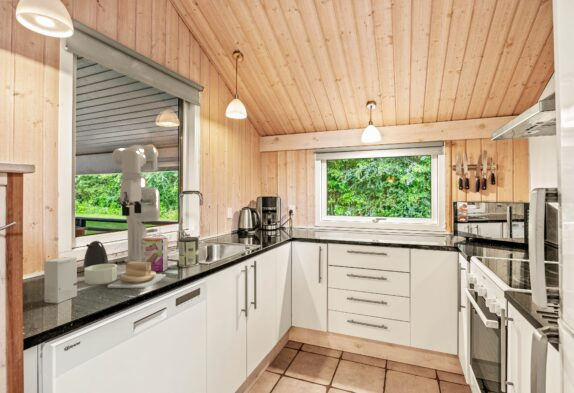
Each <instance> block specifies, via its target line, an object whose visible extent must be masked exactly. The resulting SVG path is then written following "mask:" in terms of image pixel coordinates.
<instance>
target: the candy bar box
mask: <svg viewBox="0 0 574 393" xmlns="http://www.w3.org/2000/svg"><path fill="white" fill-rule="evenodd" d="M142 262H151V271H154V272H156V273H157V272H159V273H163V272H166V271H167V270H168V269H169V268H168V267H169V265H168V237H165V236H164V237H163V236H147V237H144V238H142Z"/></svg>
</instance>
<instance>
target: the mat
mask: <svg viewBox="0 0 574 393" xmlns="http://www.w3.org/2000/svg"><path fill="white" fill-rule="evenodd" d="M165 277H167V274H164V273H160V274H158V273H156V277H154V278H152V279H150V280H148V281H145V282H139V283H129V282H124V281H121V280H120V279H117V281H116V280H115V281H113V282H111V283H110V284H108V285H107V288H112V289H143V290H144V289H147V288H148V287H150V286H152V285H154V284H155V283H157V282H159V281H160V280H162V279H163V278H165Z"/></svg>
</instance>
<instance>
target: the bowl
mask: <svg viewBox="0 0 574 393" xmlns="http://www.w3.org/2000/svg"><path fill="white" fill-rule="evenodd" d="M116 280H117V281H118V264H116V263H108V264H98V265H93V266H89V267H86V268H84V284H85V285H91V286H98V285H104V284H109V283H110V284H111V283H114V282H116Z"/></svg>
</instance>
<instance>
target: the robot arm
mask: <svg viewBox="0 0 574 393" xmlns="http://www.w3.org/2000/svg"><path fill="white" fill-rule="evenodd" d="M157 153H158V152H157V150H156V148H155V147H154V146H153V145H142V144H141V145H140V144H133V145H131V146H129V147H121V148H115V149H114V151H113V152H112V155H111V162H112V163H113V165H114V166H116V167H121V176H122V178H121V182H120V183H121V184H120V196H119V198H118V200H119V204H120V207H121V216H123V217H125V218H126V224H127V227H126V228H127V258H125V259H124V262H125V264H127V263H130V262H142V238H144V237H148V236H147V234H148V233H147V227H146V226H145V225H144V224H143V222H156V221H158V220H160V217H161V197H160V196H161V195H160V191H159V189H158V188H156V187H154V186H153V187H148V186H147V182H146V179H145V178H144V177H143V176H142V174H141V173H155V172H156V171H157V170H158V154H157ZM131 203H132V204H131ZM130 204H131V205H130Z"/></svg>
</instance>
